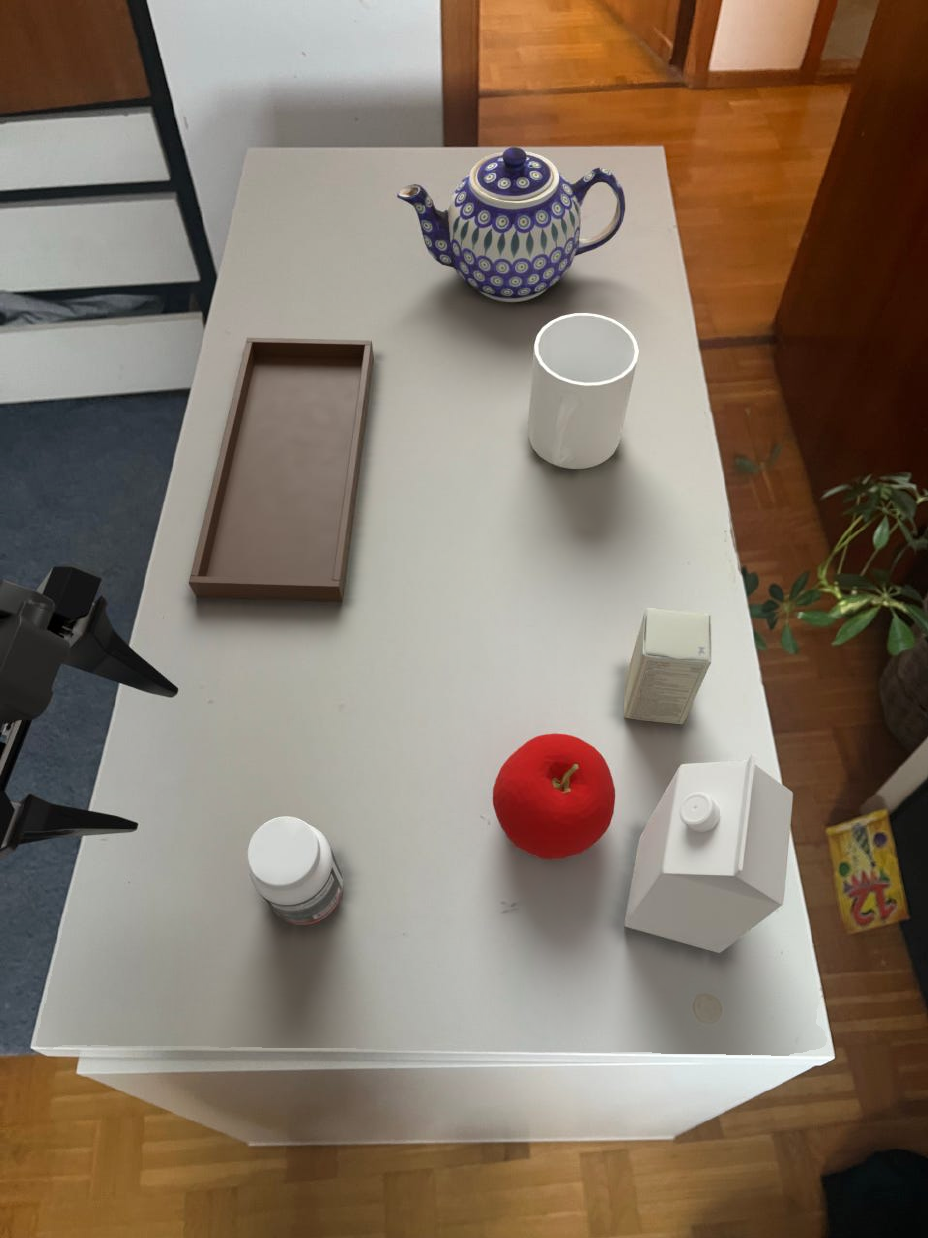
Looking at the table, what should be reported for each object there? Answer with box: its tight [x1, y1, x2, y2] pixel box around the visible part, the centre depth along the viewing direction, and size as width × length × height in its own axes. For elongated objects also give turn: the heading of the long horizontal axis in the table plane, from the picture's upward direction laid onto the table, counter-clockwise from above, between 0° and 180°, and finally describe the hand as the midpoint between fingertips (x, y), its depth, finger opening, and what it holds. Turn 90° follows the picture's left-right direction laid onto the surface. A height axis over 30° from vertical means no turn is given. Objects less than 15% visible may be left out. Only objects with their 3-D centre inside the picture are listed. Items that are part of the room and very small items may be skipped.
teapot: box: [396, 146, 626, 303], centre depth 97 cm, size 25×15×15 cm, turn 93°
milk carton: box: [624, 753, 794, 954], centre depth 58 cm, size 7×7×19 cm
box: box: [623, 607, 712, 725], centre depth 70 cm, size 5×4×11 cm
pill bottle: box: [246, 816, 344, 926], centre depth 62 cm, size 6×6×10 cm
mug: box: [527, 312, 640, 470], centre depth 84 cm, size 10×12×12 cm
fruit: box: [492, 732, 616, 860], centre depth 65 cm, size 9×9×10 cm
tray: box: [188, 337, 375, 603], centre depth 87 cm, size 31×13×2 cm, turn 178°
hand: (156, 758), depth 56 cm, fingers open, 9 cm apart
